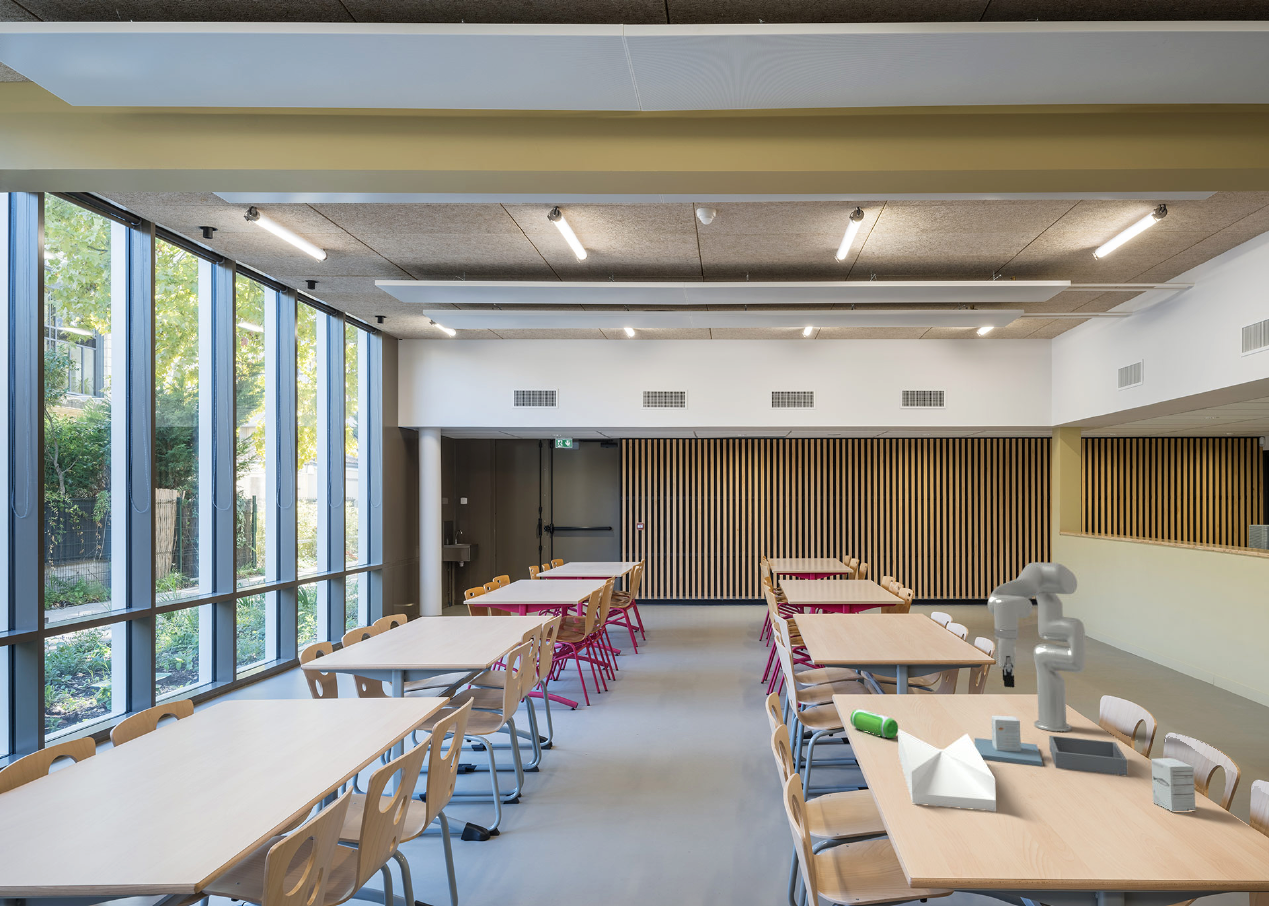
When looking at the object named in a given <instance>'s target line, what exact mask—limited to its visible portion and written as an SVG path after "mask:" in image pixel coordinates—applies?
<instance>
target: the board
mask: <svg viewBox="0 0 1269 906" xmlns="http://www.w3.org/2000/svg"><path fill="white" fill-rule="evenodd" d="M974 745H975V747H976V749H977V750H978V752H979V753H980V755H981V757H982V758H983V759H987V760H986V761H993V762H1000V761H1002V762H1001V763H1010V764H1018V765H1026V766H1035V765H1037V766H1036V767H1043V761H1042V760H1043V759H1042V757H1041V754H1040V751H1039V748H1038V744H1035V743H1026V742H1025V743H1024V742H1021V752H1018V751H997V750H996V749H995V748H994V747H993V744H992V739H987V738H978V737H974Z"/></svg>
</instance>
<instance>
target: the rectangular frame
mask: <svg viewBox="0 0 1269 906" xmlns="http://www.w3.org/2000/svg"><path fill="white" fill-rule="evenodd" d="M1048 739H1049V740H1048V741H1049V752H1051V753H1050V755H1051V759H1052V760H1053V763H1054V766H1055V768H1056V769H1062V770H1063V769H1064V770H1071V771H1078V772H1079V771H1081V772H1089V773H1096V772H1097V773H1098V774H1106V775H1114V774H1119V775H1118V776H1122V775H1129V773H1128V759H1127V758H1126V755H1124V753H1123V752H1122V749H1120V747H1119V745H1118V743H1117V742H1116V741H1106V740H1098V739H1097V740H1096V739H1087V738H1077V737H1076V738H1075V737H1069V736H1068V737H1067V736H1057V735H1048Z"/></svg>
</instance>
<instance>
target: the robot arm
mask: <svg viewBox="0 0 1269 906" xmlns="http://www.w3.org/2000/svg"><path fill="white" fill-rule="evenodd" d="M1077 587H1078V579H1077V577H1076V575H1075V574H1074V573H1073V572H1072V571H1071V570H1070V569H1069V568H1068V567H1066V566H1064V565H1063V564H1061V563H1058V562H1057V563H1056V562H1037V561H1036V562H1030V563H1028V564H1027V565H1025V567H1024V568H1023V569H1022V570H1021V572H1020V574H1019V575H1018V577H1017V578H1016V579H1013V580H1010V581H1008V582H1005V583H1003V584H1000V585H998V586H997V587H996V588H994V589H993V591H992V592H991V594H990V595H989V597H988V599H987V600H988V601H987V609H988V611H989V612H990V613H991V615H993V616H994V617H993V618H994V623H993V624H994V638H995V639H996V640H997V646H998V647H997V648H998V649H997V651H998V653H997V654H998V655H997V656H998V667H999V668H1000V669H1002V681H1003V686H1004V687H1005V688H1013V689H1014V688H1015V675H1014V669H1015V668H1016V641H1018V640H1019V639H1020V635H1019V634H1020V633H1019V619H1025V618H1028V617H1029V616H1030V615H1031V614H1032V612H1033V603H1032V601H1031V600H1030V599H1033V598H1035V600H1036V603H1037V627H1038V628H1037V632H1038V635H1039V637H1040V638H1041V639H1043V640H1046V641H1053V642H1062V643H1068V644H1069V645H1060V644H1055V643H1053V644H1052V643H1040V644H1037V645H1036V646H1035V647H1034V649H1033V660H1034V664H1035V670H1036V683H1037V684H1036V685H1037V687H1036V688H1037V711H1038V712H1037V713H1038V714H1037V715H1038V720H1035V721H1034V722H1033V723H1034V727H1036V728H1037V729H1040V730H1044V731H1048V732H1049V731H1050V732H1057V731H1061V732H1062V731H1064V733H1065V732H1070V731H1072V725H1070V724H1068V722H1067V706H1066V705H1067V702H1066V701H1067V700H1066V682H1065V679H1064V678H1063V675H1062V674H1061V673H1060V672H1059V671H1062V672H1068V673H1075V674H1077V673H1081V672H1083V671H1084V669H1085V665H1086V630H1085V626H1084V623H1083V622H1082V621H1081V620H1080V619H1079V618H1075V617H1068V616H1064V615H1063V613H1064V611H1063V602H1062V601H1061V599H1060V597H1059V596H1058V595H1060V594H1061V595H1072V594H1074V593H1075V592H1076V590H1077ZM1057 594H1058V595H1057Z"/></svg>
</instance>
